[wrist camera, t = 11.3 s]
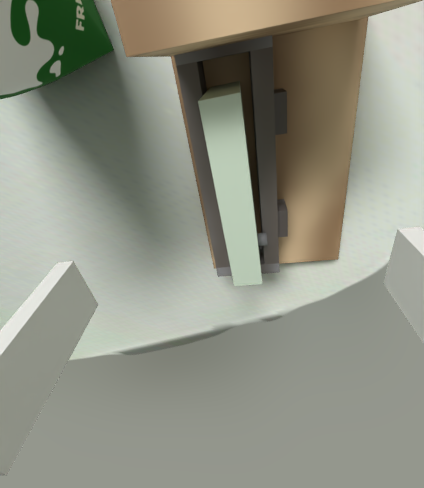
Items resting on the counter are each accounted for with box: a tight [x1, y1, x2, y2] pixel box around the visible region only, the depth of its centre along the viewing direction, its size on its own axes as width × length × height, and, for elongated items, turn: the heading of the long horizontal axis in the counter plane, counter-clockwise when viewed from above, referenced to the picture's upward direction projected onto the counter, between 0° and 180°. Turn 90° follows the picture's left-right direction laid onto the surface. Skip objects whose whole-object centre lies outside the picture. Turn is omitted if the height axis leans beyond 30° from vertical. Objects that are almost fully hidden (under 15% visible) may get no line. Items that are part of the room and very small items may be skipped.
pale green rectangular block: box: [198, 81, 268, 286], centre depth 19 cm, size 3×12×7 cm, turn 11°
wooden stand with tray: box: [111, 0, 422, 276], centre depth 18 cm, size 12×20×11 cm, turn 9°
